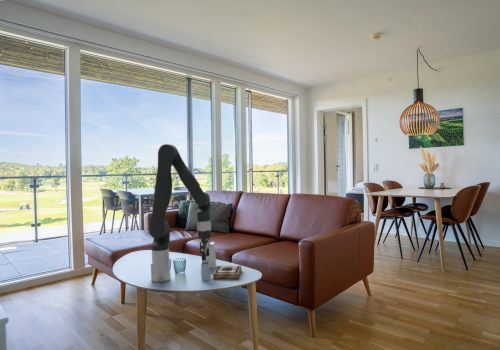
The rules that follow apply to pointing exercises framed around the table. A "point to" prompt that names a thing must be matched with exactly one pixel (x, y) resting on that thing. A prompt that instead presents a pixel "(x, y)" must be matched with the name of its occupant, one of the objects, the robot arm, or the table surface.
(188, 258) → the table surface
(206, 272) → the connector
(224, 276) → the walnut box
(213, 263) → the skincare box
